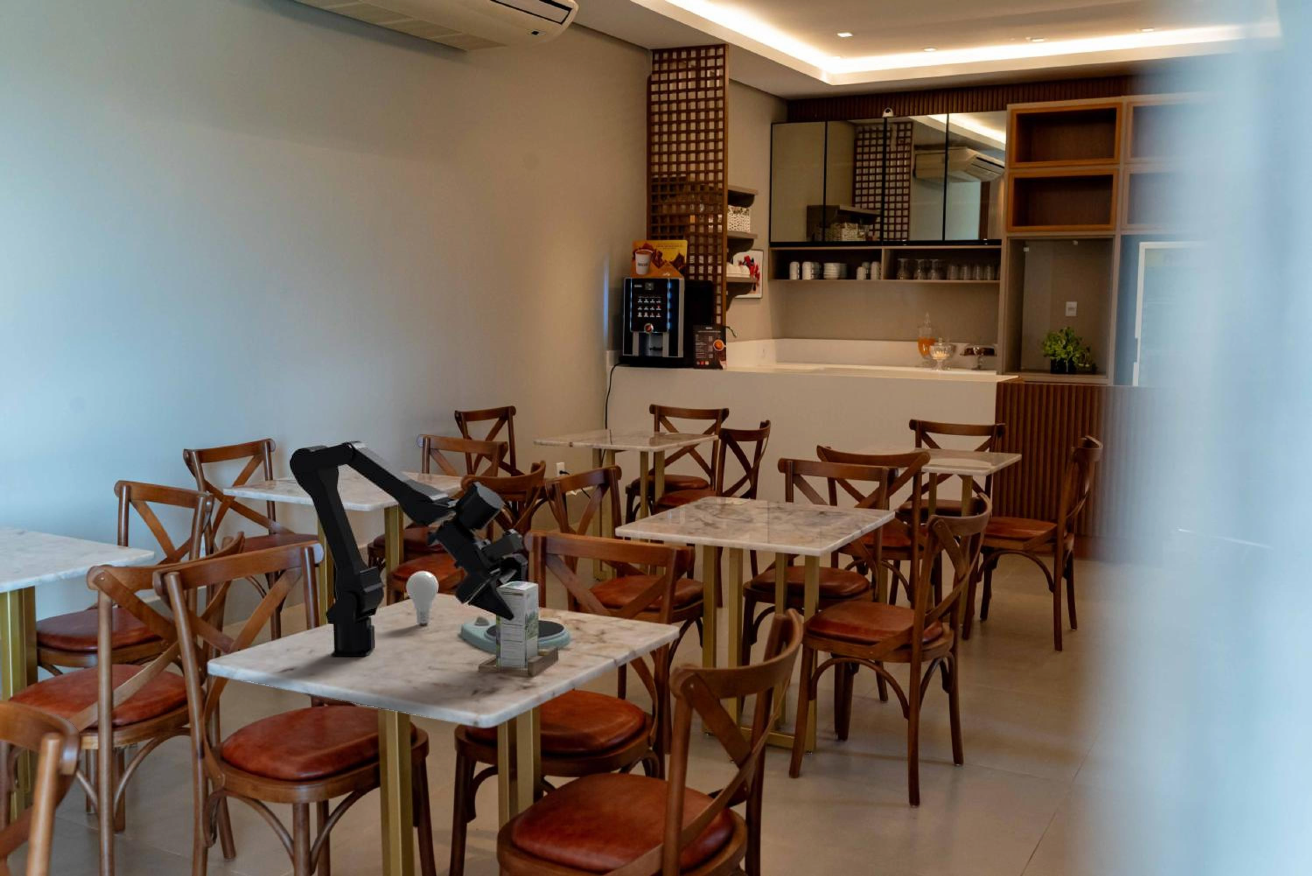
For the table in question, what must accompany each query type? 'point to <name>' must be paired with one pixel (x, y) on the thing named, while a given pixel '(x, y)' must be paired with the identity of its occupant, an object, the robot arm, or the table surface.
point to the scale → (485, 634)
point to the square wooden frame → (533, 666)
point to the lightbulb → (422, 594)
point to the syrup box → (518, 625)
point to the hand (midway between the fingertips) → (523, 612)
